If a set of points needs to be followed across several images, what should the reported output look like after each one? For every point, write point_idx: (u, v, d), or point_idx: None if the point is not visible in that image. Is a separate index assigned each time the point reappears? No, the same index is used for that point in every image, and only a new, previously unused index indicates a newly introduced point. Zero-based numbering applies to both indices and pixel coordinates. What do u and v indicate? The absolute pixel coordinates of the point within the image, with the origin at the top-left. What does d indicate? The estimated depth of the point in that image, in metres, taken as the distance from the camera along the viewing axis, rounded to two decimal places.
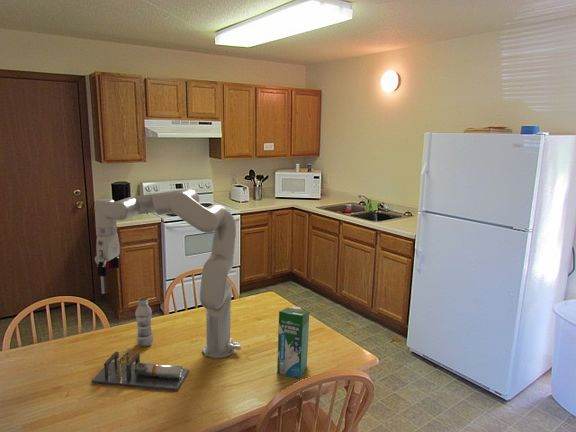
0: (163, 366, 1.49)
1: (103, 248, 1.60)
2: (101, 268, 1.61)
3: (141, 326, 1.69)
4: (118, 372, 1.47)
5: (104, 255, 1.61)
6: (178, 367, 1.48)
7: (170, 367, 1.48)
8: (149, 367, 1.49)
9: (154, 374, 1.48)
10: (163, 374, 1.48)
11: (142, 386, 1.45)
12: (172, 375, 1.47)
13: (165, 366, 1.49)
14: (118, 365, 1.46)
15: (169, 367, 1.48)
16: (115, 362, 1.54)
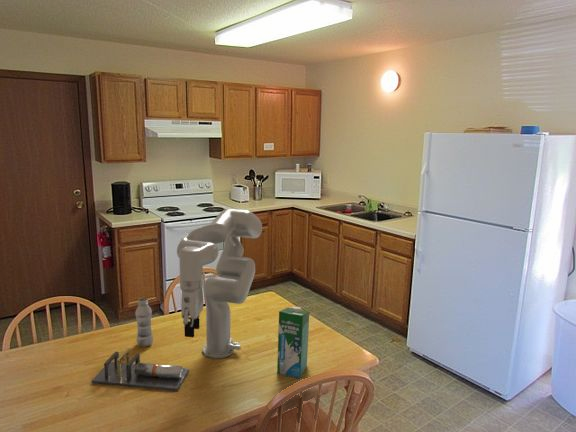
0: (163, 366, 1.49)
1: (190, 305, 1.38)
2: (189, 328, 1.41)
3: (141, 326, 1.69)
4: (118, 372, 1.47)
5: (191, 316, 1.39)
6: (178, 367, 1.48)
7: (170, 367, 1.48)
8: (149, 367, 1.49)
9: (154, 374, 1.48)
10: (163, 374, 1.48)
11: (142, 386, 1.45)
12: (172, 375, 1.47)
13: (165, 366, 1.49)
14: (118, 365, 1.46)
15: (169, 367, 1.48)
16: (115, 362, 1.54)
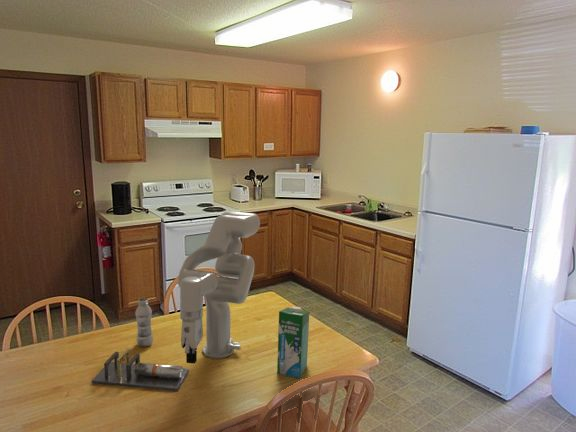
0: (163, 366, 1.49)
1: (190, 335, 1.40)
2: (191, 355, 1.45)
3: (141, 326, 1.69)
4: (118, 372, 1.47)
5: None
6: (178, 367, 1.48)
7: (170, 367, 1.48)
8: (149, 367, 1.49)
9: (154, 374, 1.48)
10: (163, 374, 1.48)
11: (142, 386, 1.45)
12: (172, 375, 1.47)
13: (165, 366, 1.49)
14: (118, 365, 1.46)
15: (169, 367, 1.48)
16: (115, 362, 1.54)
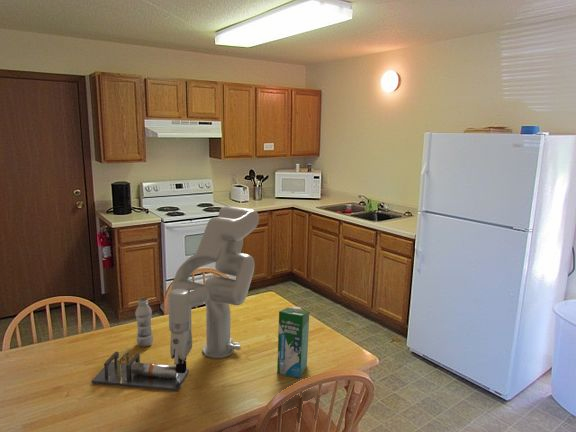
0: (159, 366, 1.49)
1: (179, 347, 1.41)
2: (180, 365, 1.47)
3: (141, 326, 1.69)
4: (118, 372, 1.47)
5: (181, 358, 1.44)
6: (174, 367, 1.49)
7: (166, 367, 1.49)
8: (145, 366, 1.49)
9: (150, 374, 1.48)
10: (159, 374, 1.48)
11: (142, 386, 1.45)
12: (168, 375, 1.48)
13: (161, 365, 1.49)
14: (118, 365, 1.46)
15: (165, 367, 1.49)
16: (115, 362, 1.54)
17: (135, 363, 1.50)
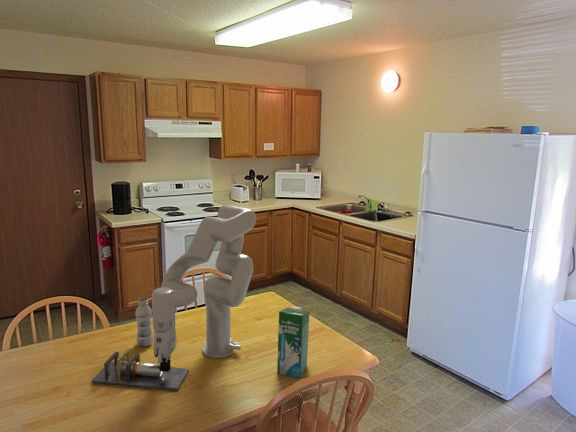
0: (144, 364, 1.49)
1: (162, 345, 1.42)
2: (164, 364, 1.47)
3: (141, 326, 1.69)
4: (118, 372, 1.47)
5: None
6: (159, 365, 1.49)
7: (151, 365, 1.49)
8: None
9: (135, 372, 1.49)
10: (144, 372, 1.48)
11: (142, 386, 1.45)
12: (152, 373, 1.48)
13: (145, 364, 1.50)
14: (118, 365, 1.46)
15: (150, 365, 1.49)
16: (115, 362, 1.54)
17: None
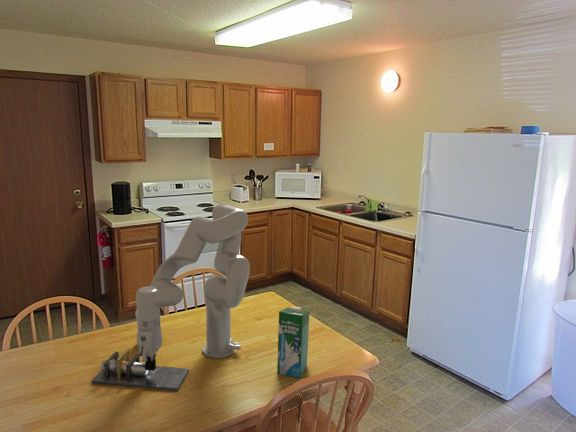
0: None
1: (146, 344, 1.42)
2: (149, 362, 1.48)
3: None
4: (118, 372, 1.47)
5: None
6: (144, 364, 1.50)
7: (136, 364, 1.50)
8: (115, 364, 1.50)
9: None
10: None
11: (142, 386, 1.45)
12: (138, 372, 1.49)
13: None
14: (118, 365, 1.46)
15: (135, 364, 1.50)
16: None
17: (105, 360, 1.51)
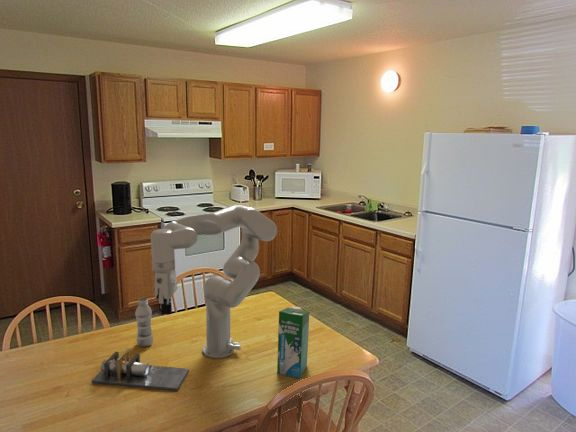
0: None
1: (163, 286, 1.41)
2: (165, 306, 1.47)
3: (141, 326, 1.69)
4: (118, 372, 1.47)
5: (165, 298, 1.43)
6: (144, 364, 1.50)
7: (136, 364, 1.50)
8: (115, 364, 1.50)
9: None
10: None
11: (142, 386, 1.45)
12: (138, 372, 1.49)
13: None
14: (118, 365, 1.46)
15: (135, 364, 1.50)
16: None
17: (105, 360, 1.51)
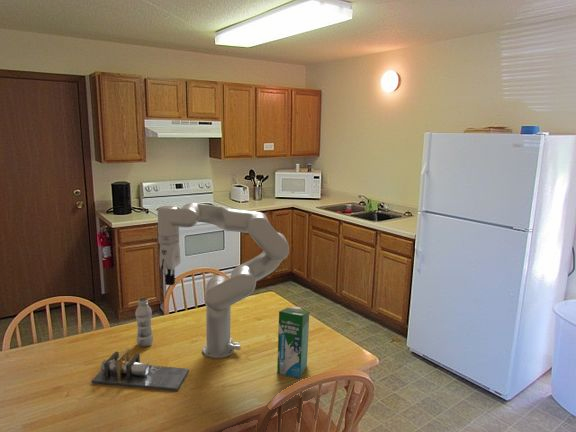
0: None
1: (167, 257, 1.55)
2: (169, 277, 1.60)
3: (141, 326, 1.69)
4: (118, 372, 1.47)
5: (169, 269, 1.57)
6: (144, 364, 1.50)
7: (136, 364, 1.50)
8: (115, 364, 1.50)
9: None
10: None
11: (142, 386, 1.45)
12: (138, 372, 1.49)
13: None
14: (118, 365, 1.46)
15: (135, 364, 1.50)
16: None
17: (105, 360, 1.51)
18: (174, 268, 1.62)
